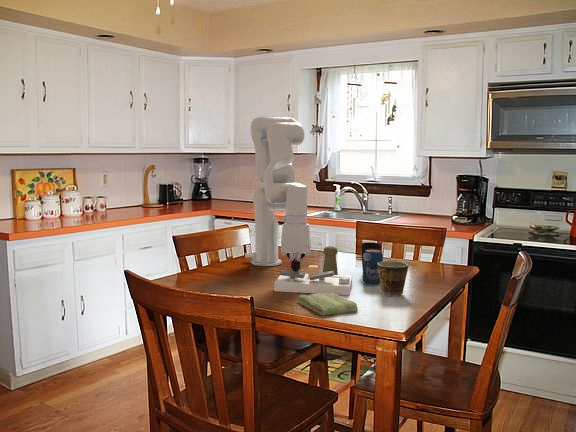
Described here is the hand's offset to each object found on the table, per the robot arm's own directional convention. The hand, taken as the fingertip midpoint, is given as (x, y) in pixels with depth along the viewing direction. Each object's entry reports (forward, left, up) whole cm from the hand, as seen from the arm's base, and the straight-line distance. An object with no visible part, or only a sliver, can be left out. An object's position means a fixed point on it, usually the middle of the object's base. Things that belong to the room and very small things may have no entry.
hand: (295, 271), depth 194 cm
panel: (+7, -4, -4) cm, 10 cm away
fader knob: (+6, 0, -1) cm, 6 cm away
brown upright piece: (+11, +16, -5) cm, 19 cm away
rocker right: (+10, -8, +1) cm, 13 cm away
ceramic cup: (+33, -8, -5) cm, 34 cm away
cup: (+26, +19, -4) cm, 32 cm away
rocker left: (0, -8, +1) cm, 8 cm away
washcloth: (+14, -27, -5) cm, 30 cm away
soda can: (+27, +6, -4) cm, 28 cm away
